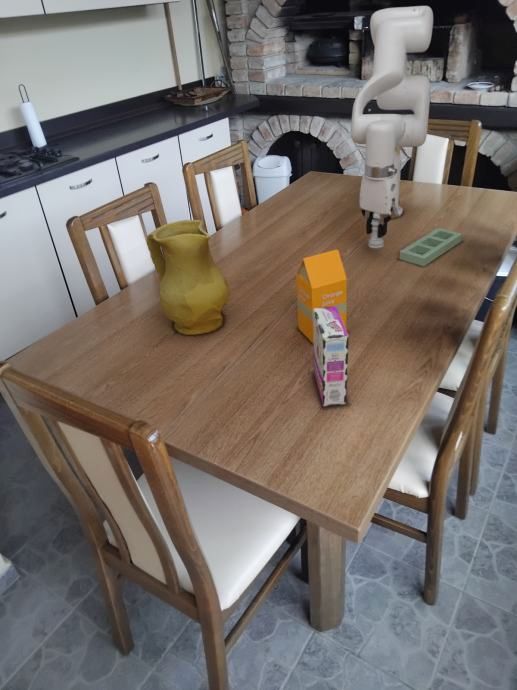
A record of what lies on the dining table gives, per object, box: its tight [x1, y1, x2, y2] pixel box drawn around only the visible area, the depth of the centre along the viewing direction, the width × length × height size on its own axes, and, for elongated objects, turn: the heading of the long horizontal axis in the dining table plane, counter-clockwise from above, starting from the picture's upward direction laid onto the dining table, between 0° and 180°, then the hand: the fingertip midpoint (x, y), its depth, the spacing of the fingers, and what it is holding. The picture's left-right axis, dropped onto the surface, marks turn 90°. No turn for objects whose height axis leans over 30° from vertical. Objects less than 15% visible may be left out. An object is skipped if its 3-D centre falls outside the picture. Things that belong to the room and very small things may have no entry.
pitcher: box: [146, 219, 231, 336], centre depth 130 cm, size 17×19×25 cm
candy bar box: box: [313, 306, 350, 408], centre depth 106 cm, size 11×5×16 cm, turn 5°
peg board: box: [398, 227, 463, 267], centre depth 158 cm, size 8×21×2 cm, turn 135°
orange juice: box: [295, 248, 348, 345], centre depth 123 cm, size 8×9×20 cm
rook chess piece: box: [368, 218, 385, 250], centre depth 155 cm, size 4×4×8 cm
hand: (376, 233), depth 155 cm, fingers closed on rook chess piece, 3 cm apart
